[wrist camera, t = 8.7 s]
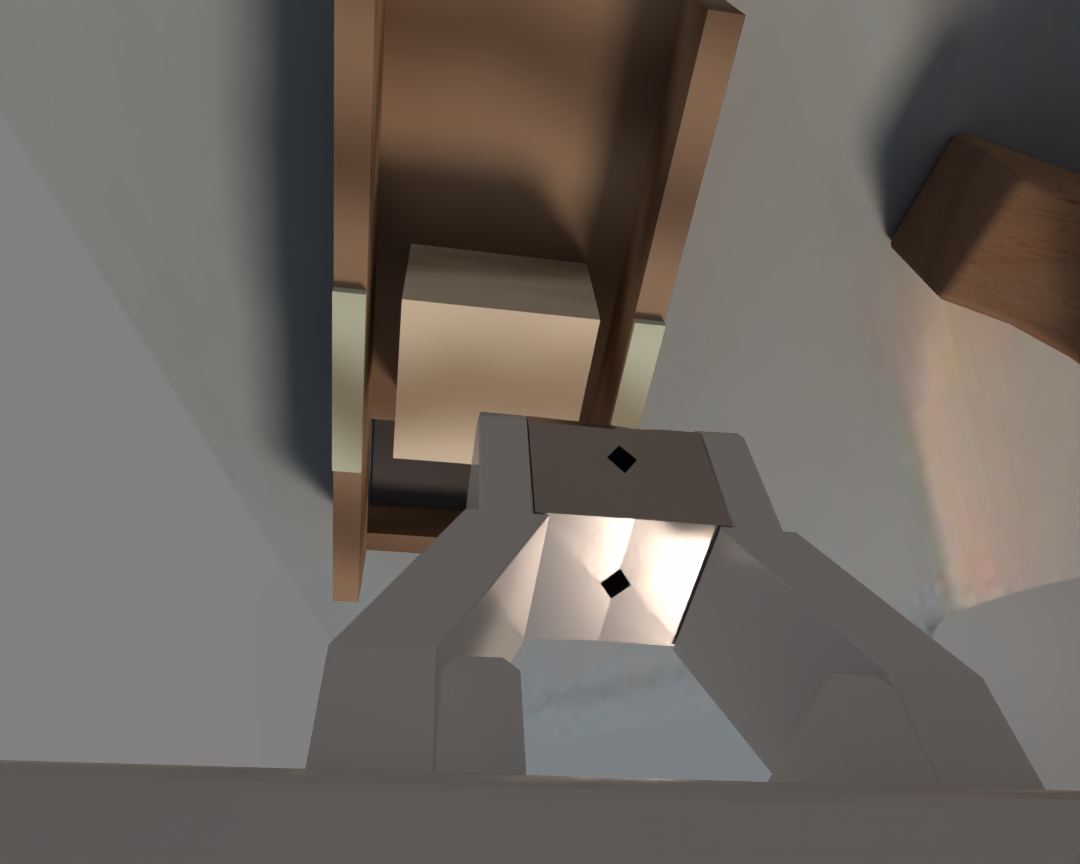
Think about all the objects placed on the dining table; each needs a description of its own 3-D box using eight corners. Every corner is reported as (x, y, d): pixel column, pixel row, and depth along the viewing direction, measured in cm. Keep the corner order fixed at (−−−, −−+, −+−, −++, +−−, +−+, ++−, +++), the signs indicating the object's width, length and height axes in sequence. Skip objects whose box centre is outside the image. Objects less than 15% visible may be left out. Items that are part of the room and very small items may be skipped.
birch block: (410, 243, 28) (401, 299, 25) (586, 263, 29) (600, 319, 25) (401, 392, 31) (393, 458, 28) (558, 406, 32) (567, 471, 29)
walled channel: (358, -72, 24) (332, -49, 20) (703, -16, 25) (748, 17, 21) (348, 516, 37) (331, 606, 33) (575, 532, 39) (587, 620, 35)
